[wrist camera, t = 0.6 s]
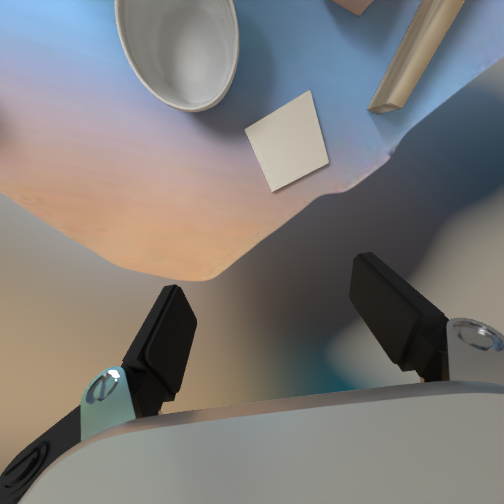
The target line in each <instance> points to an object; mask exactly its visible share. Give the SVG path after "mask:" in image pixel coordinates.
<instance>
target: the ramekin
mask: <svg viewBox="0 0 504 504" xmlns="http://www.w3.org/2000/svg"><path fill="white" fill-rule="evenodd" d="M114 1H115V18H116V26H117V30H118V34H119V38H120V41H121V44H122V47H123V50H124V52H125V55H126V57H127V59H128V61H129V63H130V65H131V67H132V69H133V70H134V72H135V74H136V75H137V77H138V78H139V80H140V81H141V82H142V83H143V85H144V86H145V87H146V88H147V89H148V90H149V91H150V92H151V93H152V94H153V95H154V96H155V97H157V98H158V99H159V100H161V101H162V102H164V103H165V104H167V105H168V106H170V107H172V108H175V109H177V110H180V111H185V112H200V111H204V110H207V109H209V108H212V107H213V106H216V105H217V104H218V103H219V102H221V100H222V99H223V98H224V97H225V94H226V93H227V92H228V89H229V88H230V86H231V83H232V81H233V79H234V76H235V73H236V69H237V65H238V59H239V46H240V45H239V27H238V20H237V14H236V10H235V6H234V2H233V0H114Z"/></svg>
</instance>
